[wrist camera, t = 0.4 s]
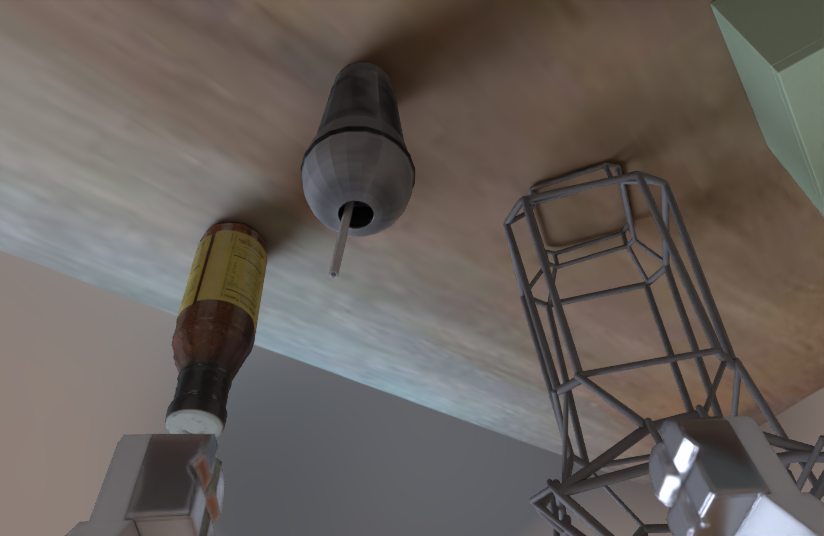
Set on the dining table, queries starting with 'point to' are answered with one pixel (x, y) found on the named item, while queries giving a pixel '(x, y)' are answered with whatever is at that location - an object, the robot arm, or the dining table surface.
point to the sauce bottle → (215, 326)
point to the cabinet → (782, 79)
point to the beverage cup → (358, 159)
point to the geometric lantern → (578, 482)
